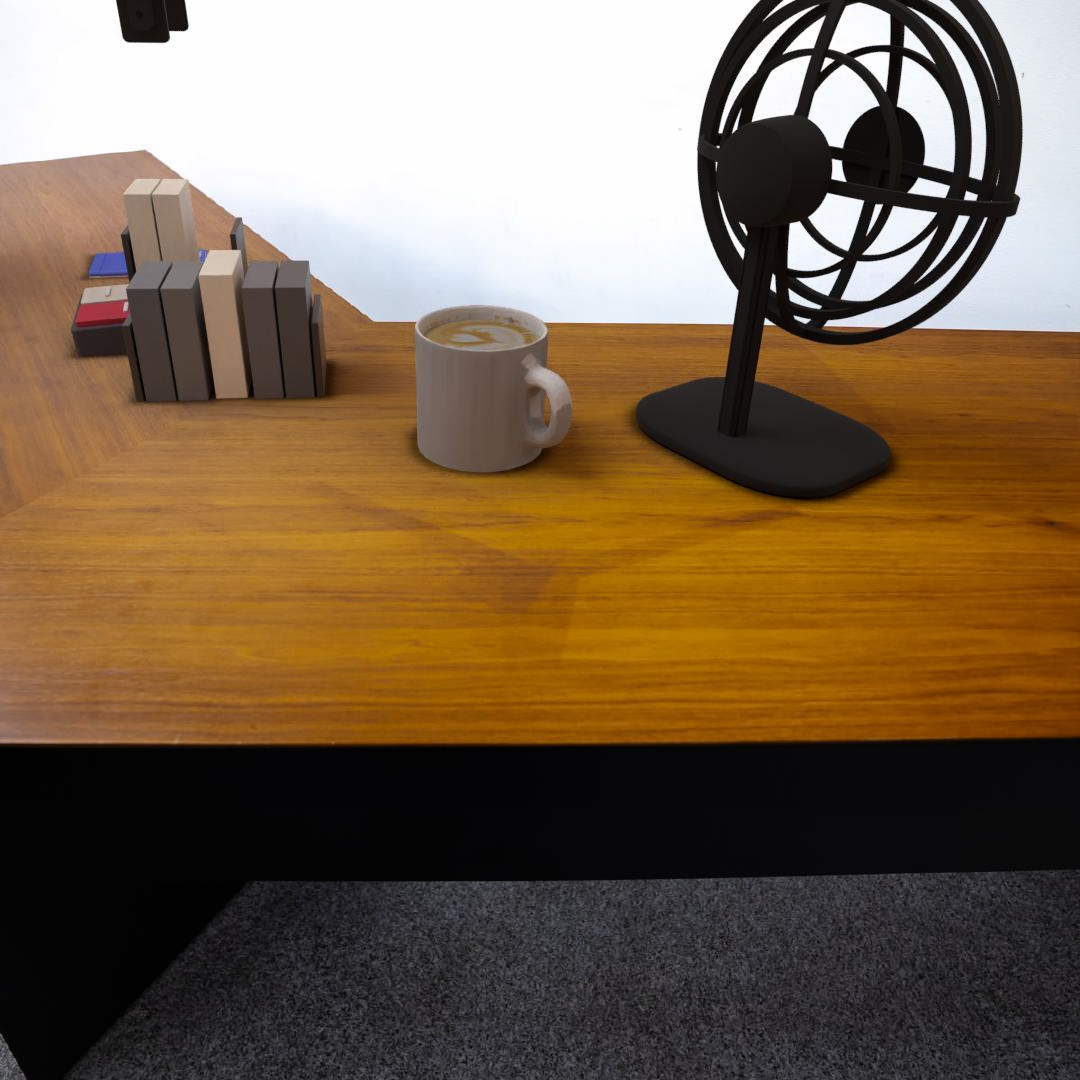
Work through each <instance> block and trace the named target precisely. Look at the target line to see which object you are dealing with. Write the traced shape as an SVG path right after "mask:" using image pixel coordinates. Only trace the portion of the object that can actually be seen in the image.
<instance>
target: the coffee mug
mask: <svg viewBox="0 0 1080 1080" xmlns="http://www.w3.org/2000/svg"><path fill="white" fill-rule="evenodd" d="M548 344H549V329H548V326H547V324H546V322H544V321H543V319H541V318H539V317H538V316H536V315H534V314H531V313H530V312H527V311H524V310H522V309H521V310H520V309H516V308H511V307H505V306H499V305H489V304H488V305H487V304H486V305H485V304H467V305H466V304H465V305H456V306H449V307H444V308H439V309H437V310H433V311H430V312H428V313H426V314H424V315H423V316H421V317H419V319H417V321H416V322H415V325H414V354H415V355H414V357H415V392H416V393H415V397H416V398H415V399H416V432H417V447H418V448H417V449H418V450H419V452H420V453H421V454H422V456H423V457H425V458H426V459H427V460H429V461H430V462H432V463H434V464H436V465H438V466H441V467H444V468H447V469H450V470H455V471H460V472H469V473H497V472H504V471H508V470H512V469H516V468H519V467H522V466H524V465H527V464H529V463H531V462H533V461H534V460H535V459H536V458H538V457H539V456H540V454H541V452H542V451H543V449H547V448H552V447H554V446H556V445H558V444H560V443H561V442H562V441H564V439H566V437H567V435H568V434H569V430H570V428H571V424H572V418H573V417H572V416H573V402H572V401H573V400H572V395H571V392H570V389H569V387H568V384H567V383H566V381H565V380H564V379H563V378H562V377H561V376H560V375H559V374H557V373H555V372H554V371H552V370H550V369H547V365H548V347H549V346H548ZM546 397H547V399H548V400H547V401H548V403H549V409H550V416H549V417H550V418H549V425H546V423H545V407H546Z"/></svg>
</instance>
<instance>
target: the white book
mask: <svg viewBox="0 0 1080 1080" xmlns="http://www.w3.org/2000/svg"><path fill="white" fill-rule="evenodd" d="M207 253H208V255H207V257H206V260H205V262H204V264H203V266H202V269H201V271H200V273H199V282H200V289H201V296H202V303H203V310H204V317H205V324H206V331H207V337H208V344H209V351H210V358H211V365H212V372H213V379H214V383H213V386H214V393H215V399H247V398H249V394H250V390H251V385H252V382H253V379H252V371H251V363H250V354H249V346H248V338H247V330H246V321H245V313H244V305H243V297H242V285H243V282H244V273H243V264H242V256H241V250H232V249H210V250H209V251H208V252H207Z"/></svg>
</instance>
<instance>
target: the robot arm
mask: <svg viewBox="0 0 1080 1080" xmlns="http://www.w3.org/2000/svg"><path fill="white" fill-rule="evenodd" d="M115 3H116V9H117V14H118V15H117V16H118V19H119V25H120V31H121V37H122V39H123V40H124V42H126V43H129V44H166V43H169V41H170V40H171V33H170V32H186V31H188V30H189V28H190V27H189V25H190V24H189V19H188V11H187V10H188V9H187V4H186V3H187V2H186V0H115Z"/></svg>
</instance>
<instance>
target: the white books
mask: <svg viewBox="0 0 1080 1080" xmlns="http://www.w3.org/2000/svg"><path fill="white" fill-rule="evenodd" d="M122 199H123V204H124V209H125V210H124V211H125V214H126V220H127V225H126V226H125V228H124V229H123V231H122V232H121V233H120V239H121V245H122V250H123V252H124V256H125V261H126V267H127V272H128V277H127V278H128V282H129V283H130V281H131V280H132V278H133V277H134V275H135V273H136V272H137V270H138V269H139V267H140V265H141V264H142V262H143V261H172V263H173V264H174V262H175V261H200V258H199V251H198V250H199V244H198V238H197V229H196V223H195V216H194V209H193V203H192V202H193V201H192V195H191V187H190V182H189V178H163V179H161V178H135V179H134V180H133V181H132V182H131V184H130V185H129V186H128V187H127V189H126V190H124V192H123V193H122ZM229 239H230V241H229V242H230V250H241V256H242V264H243V273H244V279H245V276H246V272H247V269H248V266H249V263H248V257H247V248H246V239H245V230H244V222H243V217H240V216H239V217H238V216H237V217H236V218H235V221H234V222H233V225H232V228H231V230H230V233H229ZM129 283H128V284H129Z"/></svg>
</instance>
